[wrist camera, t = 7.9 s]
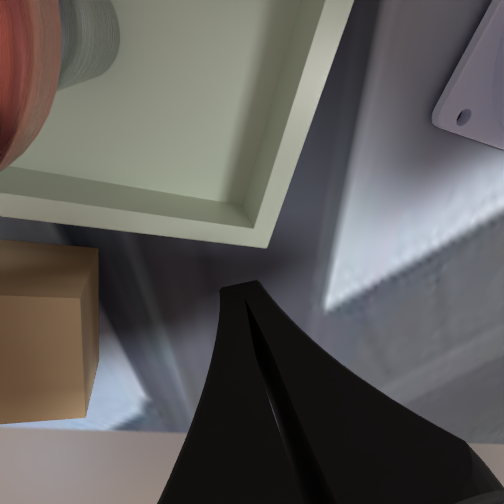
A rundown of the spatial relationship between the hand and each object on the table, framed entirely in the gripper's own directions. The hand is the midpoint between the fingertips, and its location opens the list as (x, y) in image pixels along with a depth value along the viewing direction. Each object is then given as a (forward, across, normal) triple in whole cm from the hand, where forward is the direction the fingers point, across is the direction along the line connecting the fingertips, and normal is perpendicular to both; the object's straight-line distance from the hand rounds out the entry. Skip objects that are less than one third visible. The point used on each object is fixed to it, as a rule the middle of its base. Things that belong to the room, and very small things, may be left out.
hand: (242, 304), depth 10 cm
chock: (+2, +7, 0) cm, 8 cm away
